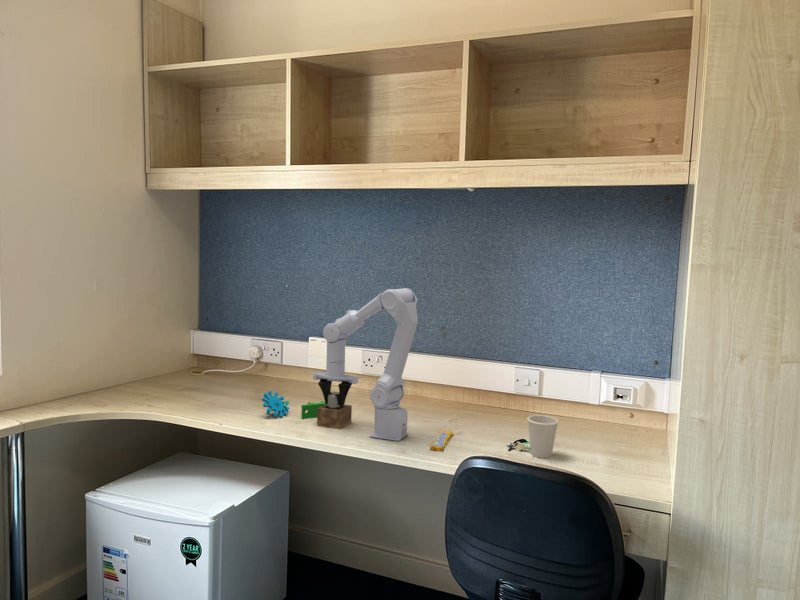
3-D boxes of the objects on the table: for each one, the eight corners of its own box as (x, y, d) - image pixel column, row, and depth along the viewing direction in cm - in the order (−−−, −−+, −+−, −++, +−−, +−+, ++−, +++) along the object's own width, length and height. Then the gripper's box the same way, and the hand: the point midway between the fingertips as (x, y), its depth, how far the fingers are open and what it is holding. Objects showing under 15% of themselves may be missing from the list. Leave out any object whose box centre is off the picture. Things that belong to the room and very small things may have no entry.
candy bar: (443, 454, 166) (443, 447, 166) (428, 452, 167) (429, 445, 167) (454, 436, 182) (454, 430, 182) (440, 434, 183) (440, 428, 183)
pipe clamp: (331, 413, 203) (331, 400, 203) (335, 416, 200) (335, 402, 199) (298, 416, 198) (299, 402, 198) (302, 419, 195) (302, 405, 194)
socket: (351, 422, 192) (351, 405, 192) (340, 429, 185) (340, 411, 184) (328, 419, 195) (328, 402, 194) (317, 425, 187) (317, 408, 187)
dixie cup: (526, 458, 163) (528, 422, 162) (524, 448, 171) (526, 414, 171) (558, 461, 162) (560, 424, 161) (555, 451, 170) (556, 416, 169)
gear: (271, 416, 191) (259, 390, 195) (261, 426, 193) (249, 400, 198) (297, 414, 199) (285, 389, 204) (287, 424, 202) (276, 399, 207)
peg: (342, 417, 191) (342, 392, 190) (337, 420, 187) (337, 395, 186) (330, 416, 192) (330, 391, 191) (325, 419, 188) (325, 394, 187)
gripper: (362, 361, 189) (361, 403, 191) (320, 357, 194) (319, 398, 195) (353, 364, 183) (352, 408, 184) (310, 360, 188) (309, 403, 189)
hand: (334, 404), depth 189 cm, fingers open, 4 cm apart
